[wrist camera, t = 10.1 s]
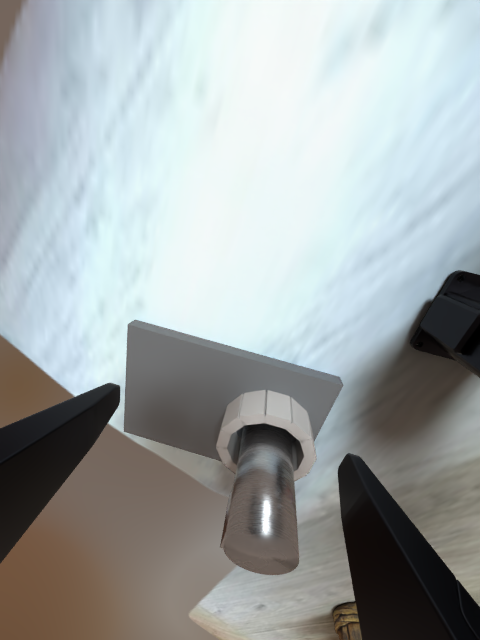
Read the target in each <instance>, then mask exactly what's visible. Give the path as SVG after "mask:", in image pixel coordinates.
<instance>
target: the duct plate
mask: <svg viewBox="0 0 480 640" xmlns="http://www.w3.org/2000/svg"><path fill="white" fill-rule="evenodd" d="M342 387H343V384H342V381H341V379H340V377H337V376H334V375H330V374H327V373H323V372H320V371H316V370H312V369H309V368H305V367H302V366H298V365H295V364H291V363H288V362H284V361H280V360H277V359H273V358H270V357H266V356H263V355H259V354H255V353H252V352H248V351H245V350H241V349H238V348H234V347H231V346H227V345H223V344H220V343H216V342H213V341H209V340H206V339H202V338H199V337H195V336H191V335H188V334H184V333H181V332H177V331H174V330H170V329H167V328H163V327H159V326H156V325H152V324H149V323H145V322H142V321H138V320H134V321H132V322H131V323H129V324H128V333H127V360H126V387H125V413H124V432H127V433H130V434H134V435H137V436H140V437H144V438H147V439H150V440H153V441H157V442H160V443H163V444H167V445H170V446H173V447H176V448H180V449H183V450H186V451H189V452H193V453H196V454H199V455H203V456H206V457H209V458H212V459H216V460H219V461H222V462H223V464H225V466H226V467H227V468H228V469H230V470H231V471H232V472H233V473H235V474H236V468H237V462H238V456H239V450H240V445H241V439H242V433H243V427H244V425H252V424H261V423H266V424H270V425H273V426H277V427H280V428H283V429H286V430H287V431H288V432H289V433H291V439H292V454H293V470H294V481H296V480H298V479H300V478H302V477H304V476H306V475H307V474H308V473H309V471H310V469H311V468H312V466H313V464H314V462H315V460H316V451H315V445H314V441H315V439H316V437H317V435H318V433H319V431H320V429H321V427H322V425H323V423H324V421H325V420H326V418H327V416H328V414H329V412H330V410H331V408H332V406H333V404H334V402H335V400H336V398H337V396H338V394H339V392H340V391H341V389H342Z"/></svg>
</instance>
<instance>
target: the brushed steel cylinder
mask: <svg viewBox="0 0 480 640" xmlns="http://www.w3.org/2000/svg"><path fill="white" fill-rule="evenodd" d="M220 547H221V548H224V552H225V554H226V555H227V557H228V558H229V559H230V560H231V561H232V562H234V563H235V564H236V565H238V566H240V567H242V568H244V569H246V570H249V571H252V572H255V573H259V574H266V575H280V574H285V573H288V572H291V571H292V570H294V569H295V568H296V567H297V566H298V564H299V550H298V534H297V518H296V502H295V486H294V470H293V454H292V439H291V433H289V432H288V431H287V430H286V429H283V428H280V427H277V426H273V425H270V424H266V423H261V424H252V425H244V427H243V433H242V439H241V445H240V450H239V456H238V462H237V468H236V474H235V480H234V485H233V488H232V491H231V494H230V497H229V500H228V506H227V511H226V517H225V523H224V529H223V534H222V539H221V545H220Z"/></svg>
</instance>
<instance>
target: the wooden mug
mask: <svg viewBox="0 0 480 640" xmlns="http://www.w3.org/2000/svg"><path fill="white" fill-rule="evenodd" d="M333 619H334V625H335V631H336V633H337V634H338V635H339V639H340V640H362V637H361V631H360V625H359V619H358V613H357V607H356V602H354V603H346V604H343V605H341V606H338V607H337V608H336V609H335V610H334V613H333Z"/></svg>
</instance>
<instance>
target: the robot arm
mask: <svg viewBox="0 0 480 640" xmlns="http://www.w3.org/2000/svg"><path fill="white" fill-rule="evenodd" d="M460 275H461V276H462V277H461V279H460V280H457V278H458V277H459V276H460ZM418 342H420V344H418V345H416V344H417V343H418ZM410 344H411V346H412V347H413V348H414V349H416V350H419V351H423V352H427V353H431V354H434V355H438V356H442V357H445V358H449V359H453V360H456V361H458V362H459V363H461V364H462V365H463V366H465V367H466V368H467V369H469V370H470V371H471V372H473V373H474V374H475V375H477V376H478V377H479V378H480V275H477V274H473V273H469V272H465V271H461V270H458V271H455V272H454V273H452V274H451V276H450V277H449V279H448V280H447V282H446V284H445V285H444V287H443V289H442V290H441V292H440V294H439V295H438V296H437V297H436V299H435V300H434V302H433V304H432V305H431V307H430V309H429V310H428V312H427V314H426V315H425V317H424V319H423V320H422V322H421V323H420V327H419V328H418V330H417V332H416V333H415V335H414V336H413V338H412V340H411V342H410ZM119 403H120V386H119V385H116V384H113V383H107V384H105V385H102V386H100V387H97V388H95V389H93V390H90V391H88V392H86V393H83V394H81V395H78V396H76V397H74V398H71V399H69V400H67V401H64V402H62V403H59V404H57V405H55V406H52V407H50V408H48V409H45V410H43V411H40V412H38V413H36V414H33V415H31V416H29V417H26V418H24V419H21V420H19V421H17V422H14V423H12V424H10V425H7V426H5V427H3V428H0V563H1V562H2V561H3V560H4V558H5V557H6V556H7V554H8V553H9V552H10V550H11V549H12V548H13V547H14V546H15V544H16V543H17V542H18V540H19V539H20V538H21V537H22V535H23V534H24V533H25V531H26V530H27V529H28V528H29V526H30V525H31V524H32V523H33V521H34V520H35V519H36V517H37V516H38V515H39V514H40V512H41V511H42V510H43V509H44V507H45V506H46V505H47V503H48V502H49V501H50V500H51V498H52V497H53V496H54V494H55V493H56V492H57V491H58V489H59V488H60V487H61V486H62V484H63V483H64V482H65V480H66V479H67V478H68V477H69V475H70V474H71V473H72V472H73V470H74V469H75V468H76V466H77V465H78V464H79V463H80V461H81V460H82V459H83V457H84V456H85V455H86V454H87V452H88V451H89V450H90V448H91V447H92V446H93V445H94V443H95V442H96V440H97V439H98V437H99V436H100V434H101V432H102V431H103V429H104V428H105V426H106V425H107V423H108V422H109V420H110V418H111V417H112V415H113V414H114V412H115V411H116V409H117V407H118V405H119ZM338 482H339V495H340V507H341V518H342V526H343V532H344V538H345V543H346V549H347V555H348V561H349V567H350V573H351V578H352V584H353V590H354V596H355V602H356V607H357V613H358V619H359V625H360V631H361V637H362V640H480V607H479V606H478V604H477V603H476V602H475V601H474V599H473V598H472V597H471V596H470V594H469V593H468V592H467V591H466V589H465V588H464V587H463V586H462V584H461V583H460V582H459V581H458V580H456V578H455V576H454V574H453V573H452V572H451V571H450V569H449V568H448V567H447V566H446V564H445V563H444V562H443V561H442V559H441V558H440V557H439V556H438V554H437V553H436V552H435V551H434V549H433V548H432V547H431V545H430V544H429V543H428V542H427V540H426V539H425V538H424V537H423V535H422V534H421V533H420V532H419V530H418V529H417V528H416V527H415V525H414V524H413V523H412V522H411V520H410V519H409V518H408V517H407V515H406V514H405V513H404V511H403V510H402V509H401V508H400V506H399V505H398V504H397V503H396V501H395V500H394V499H393V498H392V496H391V495H390V494H389V493H388V491H387V490H386V489H385V488H384V486H383V485H382V484H381V483H380V481H379V480H378V479H377V477H376V476H375V475H374V474H373V472H372V471H371V470H370V469H369V467H368V466H367V465H366V464H365V462H364V461H363V460H362V459H361V458H360V457H359V456H357V455H354V454H350V453H348V454H347V455H346V456H345V458H344V459H343V461H342V462H341V464H340V466H339V468H338Z"/></svg>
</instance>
